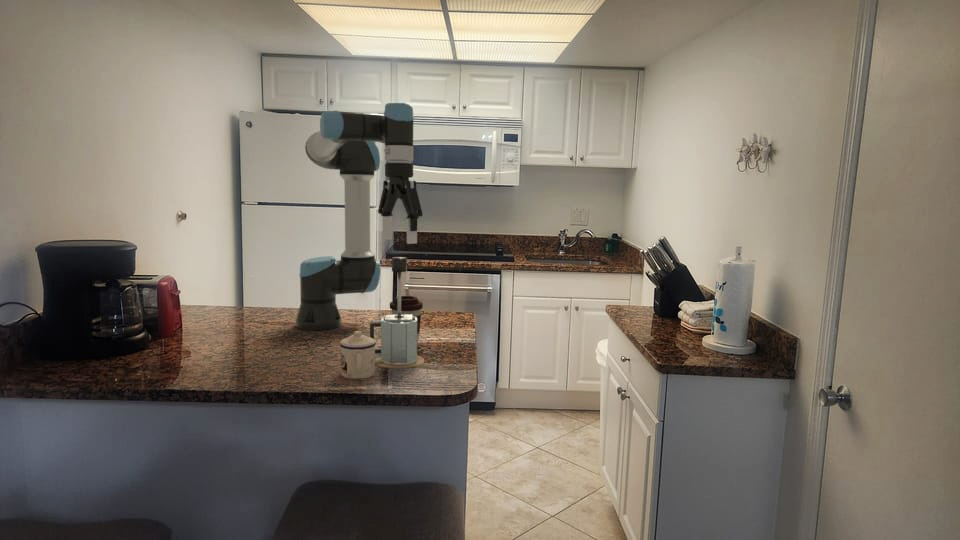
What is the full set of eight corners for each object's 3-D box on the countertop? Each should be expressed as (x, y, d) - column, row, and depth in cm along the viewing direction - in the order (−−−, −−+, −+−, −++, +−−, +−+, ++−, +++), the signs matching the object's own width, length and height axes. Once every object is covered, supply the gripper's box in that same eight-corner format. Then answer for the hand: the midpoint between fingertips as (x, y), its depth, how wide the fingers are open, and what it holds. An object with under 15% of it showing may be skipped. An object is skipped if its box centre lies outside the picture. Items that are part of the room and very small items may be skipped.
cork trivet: (365, 360, 170) (365, 358, 170) (408, 352, 178) (408, 350, 178) (388, 373, 159) (388, 371, 158) (433, 365, 167) (433, 362, 167)
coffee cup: (416, 351, 180) (417, 301, 177) (385, 348, 181) (384, 299, 179) (426, 342, 189) (426, 295, 187) (396, 340, 191) (396, 293, 189)
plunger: (385, 321, 170) (385, 256, 167) (412, 321, 171) (413, 256, 168) (384, 328, 162) (384, 259, 160) (413, 328, 163) (413, 259, 161)
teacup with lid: (340, 370, 160) (339, 327, 159) (374, 368, 162) (374, 326, 161) (340, 385, 149) (339, 339, 147) (377, 383, 151) (377, 338, 149)
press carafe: (371, 355, 172) (371, 313, 170) (416, 355, 174) (417, 312, 172) (369, 366, 162) (369, 321, 160) (417, 365, 164) (417, 321, 162)
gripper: (365, 163, 170) (366, 238, 172) (410, 160, 150) (410, 245, 152) (389, 164, 174) (389, 237, 177) (435, 161, 154) (435, 244, 157)
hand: (399, 241), depth 165 cm, fingers open, 13 cm apart
